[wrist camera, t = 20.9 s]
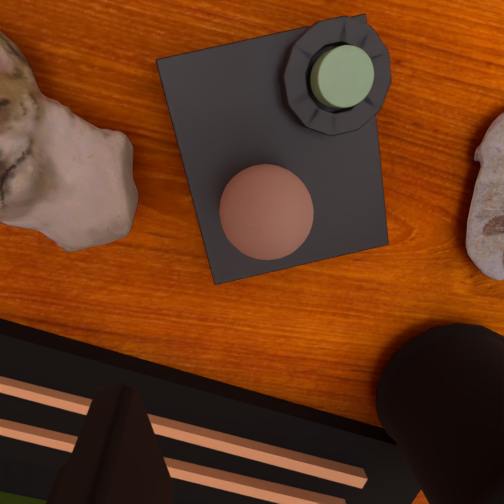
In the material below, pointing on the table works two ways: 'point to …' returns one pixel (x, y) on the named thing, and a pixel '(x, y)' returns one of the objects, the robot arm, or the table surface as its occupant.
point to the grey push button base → (281, 137)
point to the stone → (488, 205)
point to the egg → (266, 212)
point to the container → (448, 412)
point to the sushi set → (186, 431)
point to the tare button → (342, 76)
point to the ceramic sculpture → (59, 165)
